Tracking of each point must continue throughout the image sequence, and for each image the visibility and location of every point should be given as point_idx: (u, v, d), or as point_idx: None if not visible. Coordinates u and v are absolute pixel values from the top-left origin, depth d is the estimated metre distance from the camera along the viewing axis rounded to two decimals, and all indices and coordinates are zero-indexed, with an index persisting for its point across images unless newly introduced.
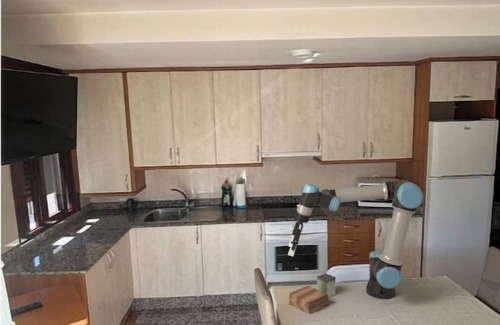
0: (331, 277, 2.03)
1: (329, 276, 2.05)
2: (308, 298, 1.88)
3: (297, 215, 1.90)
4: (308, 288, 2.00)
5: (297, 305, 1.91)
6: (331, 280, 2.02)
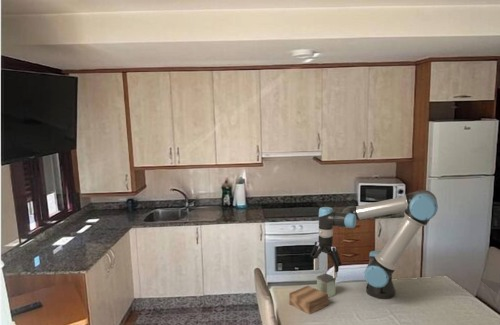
0: (331, 277, 2.03)
1: (329, 276, 2.05)
2: (308, 298, 1.88)
3: (326, 240, 1.99)
4: (308, 288, 2.00)
5: (297, 305, 1.91)
6: (331, 280, 2.02)
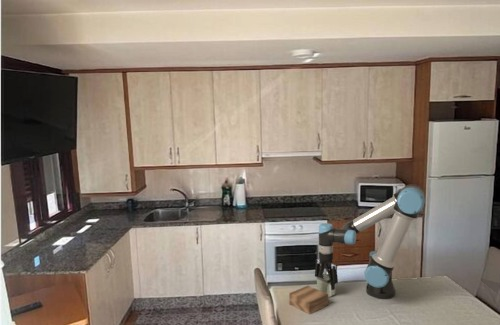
0: None
1: None
2: (308, 298, 1.88)
3: (326, 257, 1.99)
4: (308, 288, 2.00)
5: (297, 305, 1.91)
6: None
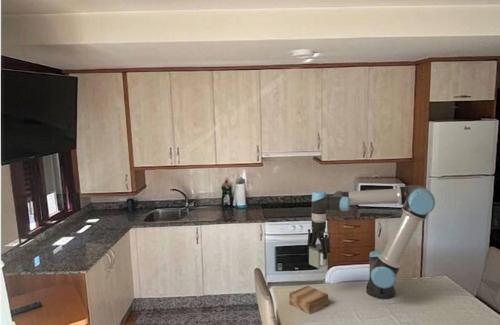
0: None
1: None
2: (308, 298, 1.88)
3: (318, 225, 1.94)
4: (308, 288, 2.00)
5: (297, 305, 1.91)
6: None
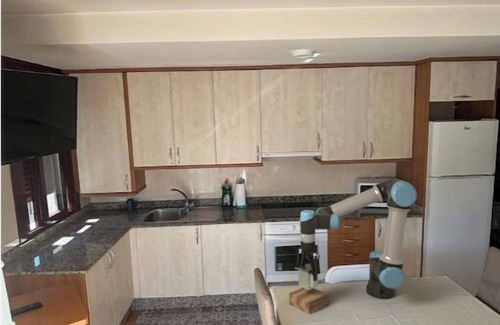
0: None
1: None
2: (308, 298, 1.88)
3: (308, 245, 1.87)
4: None
5: (297, 305, 1.91)
6: None
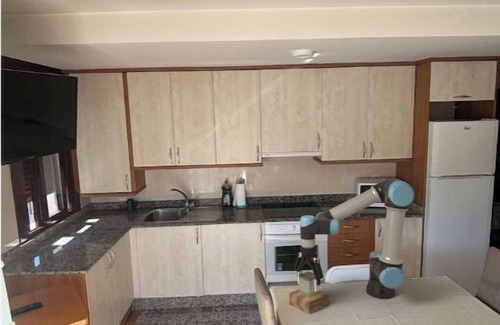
0: (314, 275, 1.92)
1: (311, 274, 1.93)
2: (308, 298, 1.88)
3: (308, 251, 1.87)
4: None
5: (297, 305, 1.91)
6: (313, 278, 1.90)
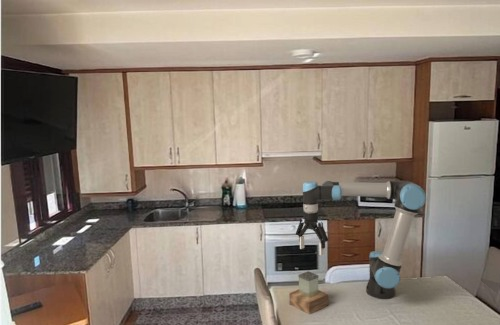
0: (314, 275, 1.92)
1: (311, 274, 1.93)
2: (308, 298, 1.88)
3: (311, 215, 1.90)
4: None
5: (297, 305, 1.91)
6: (313, 278, 1.90)
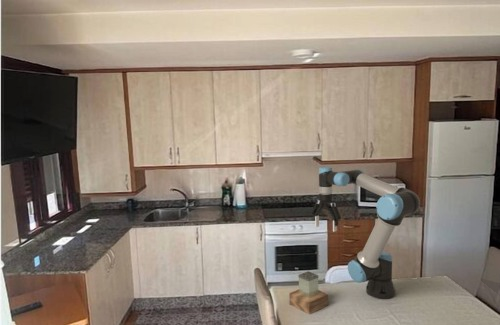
0: (314, 275, 1.92)
1: (311, 274, 1.93)
2: (308, 298, 1.88)
3: (326, 197, 2.15)
4: None
5: (297, 305, 1.91)
6: (313, 278, 1.90)
